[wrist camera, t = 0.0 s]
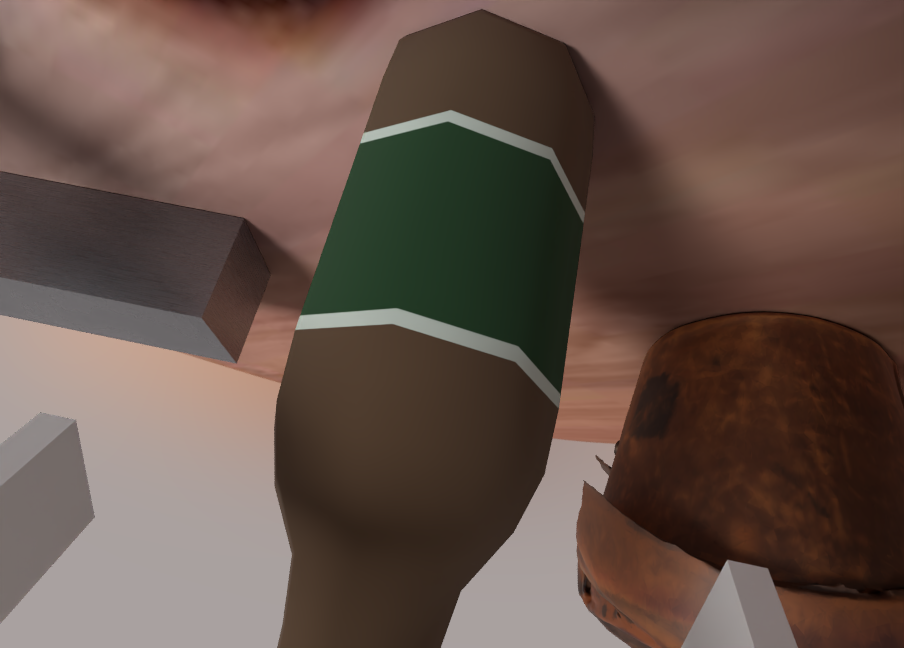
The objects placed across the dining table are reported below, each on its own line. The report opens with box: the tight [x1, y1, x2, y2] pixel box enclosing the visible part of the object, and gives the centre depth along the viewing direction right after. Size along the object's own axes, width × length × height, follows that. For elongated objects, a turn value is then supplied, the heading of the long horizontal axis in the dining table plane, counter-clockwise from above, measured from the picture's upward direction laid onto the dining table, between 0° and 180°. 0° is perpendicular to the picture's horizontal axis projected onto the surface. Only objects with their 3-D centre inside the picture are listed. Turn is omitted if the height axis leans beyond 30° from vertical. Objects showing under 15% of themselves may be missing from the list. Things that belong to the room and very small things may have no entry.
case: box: [576, 312, 904, 648], centre depth 31 cm, size 18×20×18 cm
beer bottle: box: [274, 9, 595, 648], centre depth 17 cm, size 8×8×24 cm
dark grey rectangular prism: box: [0, 172, 270, 363], centre depth 34 cm, size 6×17×6 cm, turn 88°
